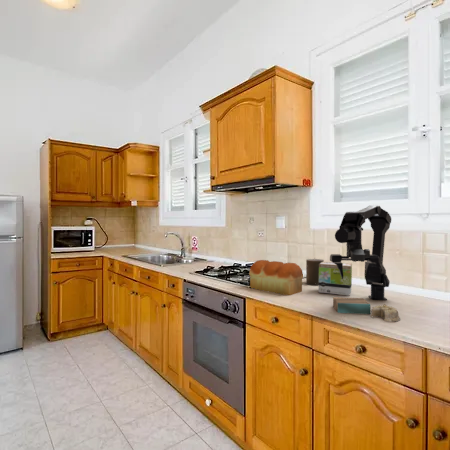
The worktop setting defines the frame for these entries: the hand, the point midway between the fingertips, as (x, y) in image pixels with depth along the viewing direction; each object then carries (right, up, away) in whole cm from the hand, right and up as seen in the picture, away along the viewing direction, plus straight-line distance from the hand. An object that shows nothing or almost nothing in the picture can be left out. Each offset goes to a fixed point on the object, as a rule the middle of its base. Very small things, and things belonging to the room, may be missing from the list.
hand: (354, 278), depth 134 cm
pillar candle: (-2, -11, +50) cm, 51 cm away
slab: (-3, -10, 0) cm, 10 cm away
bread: (-28, -12, +33) cm, 44 cm away
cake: (+5, -12, -15) cm, 20 cm away
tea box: (+1, -12, +27) cm, 29 cm away
